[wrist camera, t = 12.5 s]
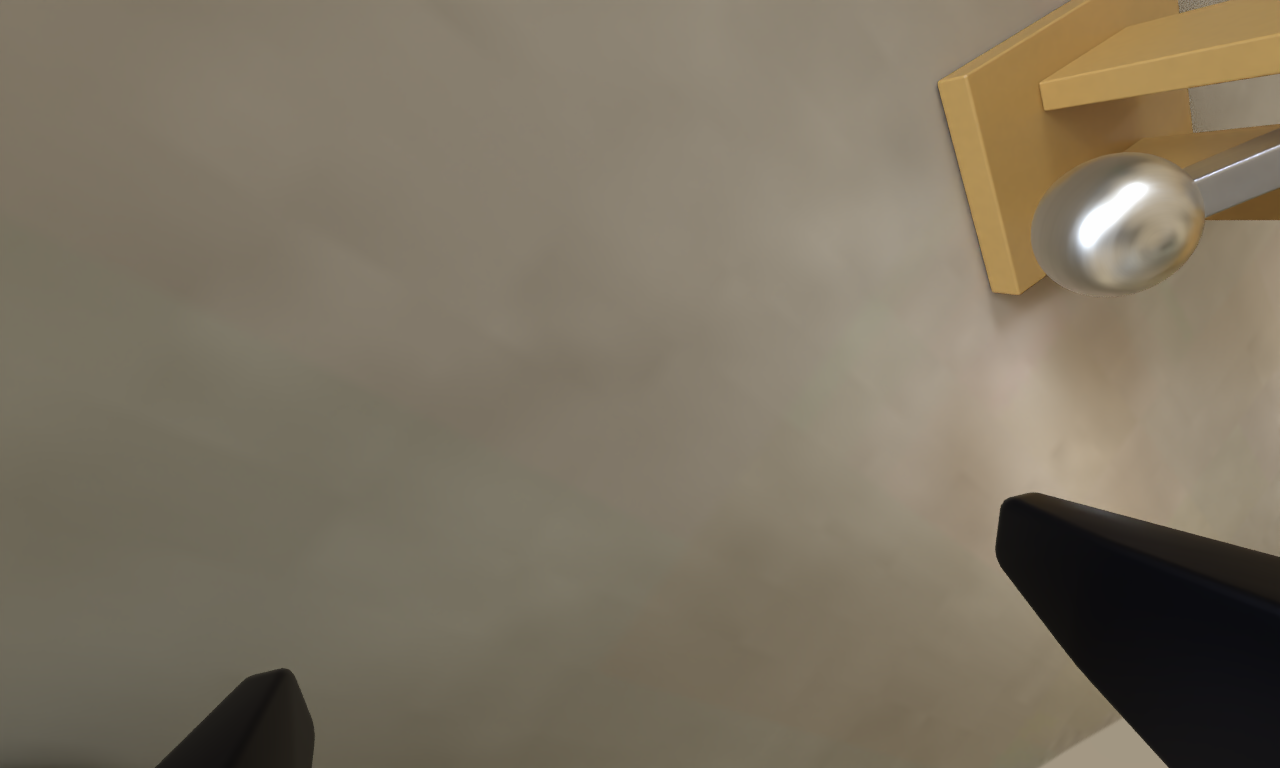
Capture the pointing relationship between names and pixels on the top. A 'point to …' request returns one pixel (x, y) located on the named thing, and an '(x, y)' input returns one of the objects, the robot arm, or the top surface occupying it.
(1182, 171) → the tap lever
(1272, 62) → the bracket
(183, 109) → the top surface
